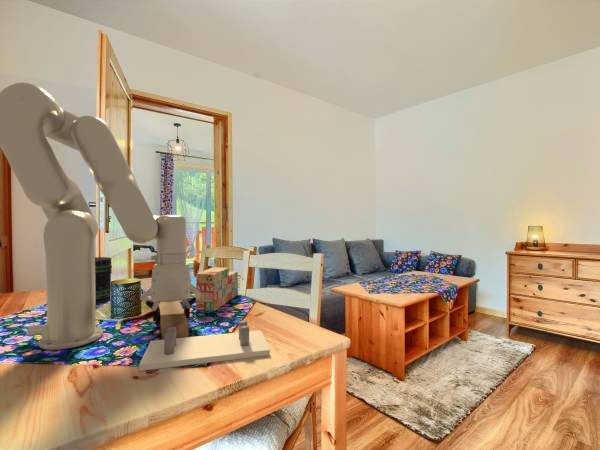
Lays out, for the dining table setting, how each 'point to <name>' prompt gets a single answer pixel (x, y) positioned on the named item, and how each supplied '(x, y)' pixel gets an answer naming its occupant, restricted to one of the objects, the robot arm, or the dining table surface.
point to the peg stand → (203, 348)
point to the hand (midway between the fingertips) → (171, 321)
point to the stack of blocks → (216, 288)
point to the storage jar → (102, 279)
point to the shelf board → (173, 318)
